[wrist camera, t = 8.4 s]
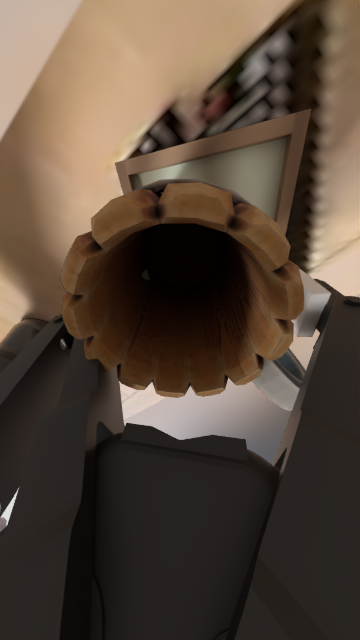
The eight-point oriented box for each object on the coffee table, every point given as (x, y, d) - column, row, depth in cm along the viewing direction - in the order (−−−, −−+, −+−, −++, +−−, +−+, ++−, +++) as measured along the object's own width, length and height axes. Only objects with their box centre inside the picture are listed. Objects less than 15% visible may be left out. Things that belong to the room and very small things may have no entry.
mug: (122, 259, 19) (-5, 352, 6) (173, 157, 14) (50, -319, 1) (217, 324, 24) (251, 449, 11) (281, 268, 19) (467, 380, 6)
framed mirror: (168, 311, 30) (161, 328, 26) (136, 171, 19) (114, 163, 15) (258, 307, 27) (266, 326, 23) (285, 133, 15) (311, 108, 11)
